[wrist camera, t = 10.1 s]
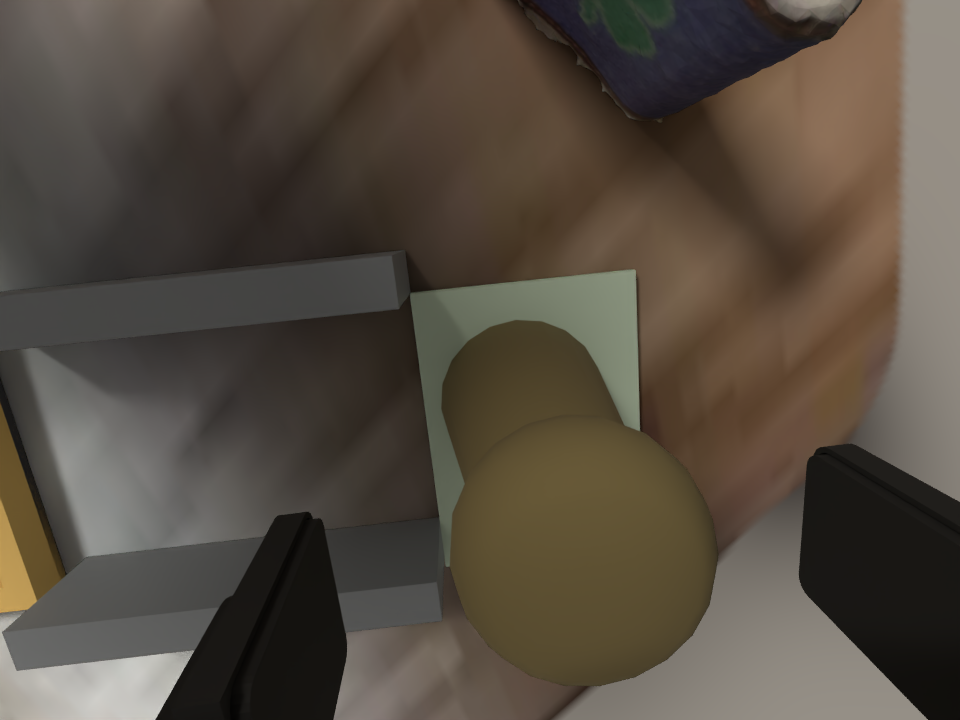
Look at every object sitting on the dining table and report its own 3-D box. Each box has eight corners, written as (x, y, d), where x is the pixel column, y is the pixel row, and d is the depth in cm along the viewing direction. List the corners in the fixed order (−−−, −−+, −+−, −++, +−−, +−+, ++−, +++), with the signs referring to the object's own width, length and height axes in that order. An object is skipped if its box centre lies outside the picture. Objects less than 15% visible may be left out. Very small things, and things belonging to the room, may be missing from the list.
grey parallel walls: (1, 291, 18) (-122, 308, 14) (404, 250, 19) (391, 255, 15) (97, 589, 21) (17, 670, 17) (444, 550, 21) (442, 621, 18)
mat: (410, 292, 19) (409, 294, 18) (631, 269, 19) (635, 270, 19) (446, 560, 22) (445, 567, 21) (639, 538, 22) (642, 544, 21)
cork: (606, 465, 20) (770, 724, 10) (450, 482, 20) (444, 764, 10) (599, 311, 19) (784, 417, 8) (431, 328, 19) (399, 459, 8)
